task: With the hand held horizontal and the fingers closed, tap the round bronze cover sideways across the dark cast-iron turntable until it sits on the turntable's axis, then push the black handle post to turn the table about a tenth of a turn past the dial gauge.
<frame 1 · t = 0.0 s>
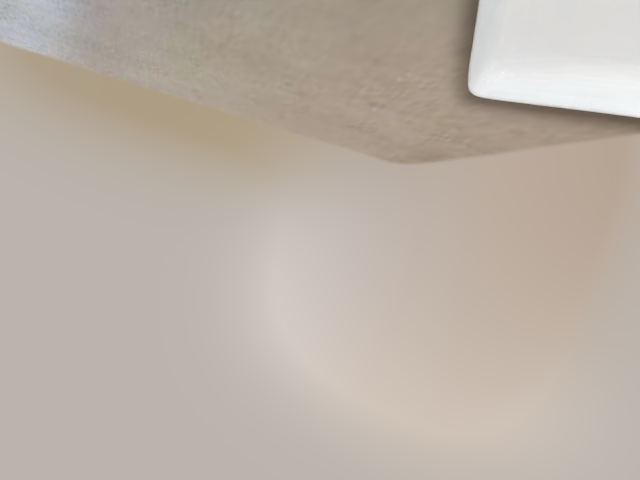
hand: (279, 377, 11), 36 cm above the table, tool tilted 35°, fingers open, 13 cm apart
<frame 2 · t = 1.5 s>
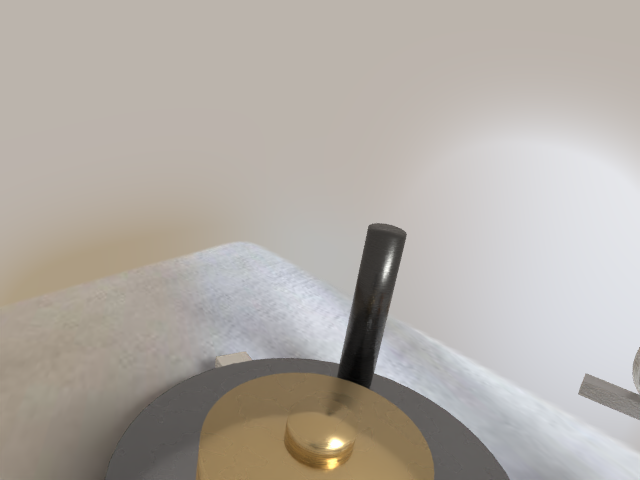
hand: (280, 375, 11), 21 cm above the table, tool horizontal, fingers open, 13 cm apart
turntable: (338, 400, 32), point 7 cm above the table, hinge at 0.0°, touching cover
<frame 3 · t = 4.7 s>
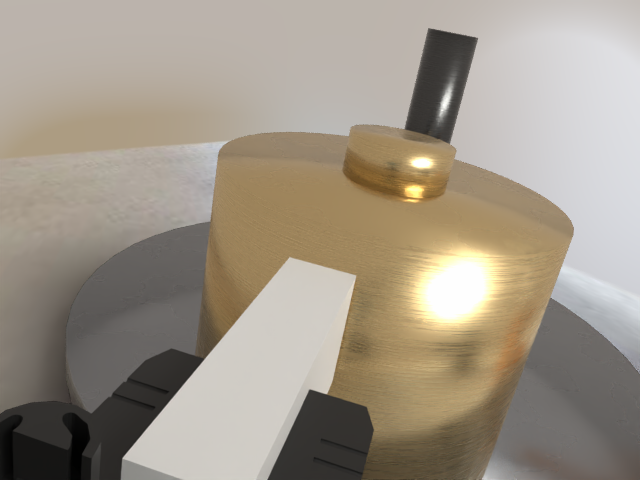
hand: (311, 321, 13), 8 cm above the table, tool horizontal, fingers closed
cover: (340, 404, 20), point 2 cm above the table, touching turntable
turntable: (398, 204, 23), point 7 cm above the table, hinge at 0.0°, touching cover
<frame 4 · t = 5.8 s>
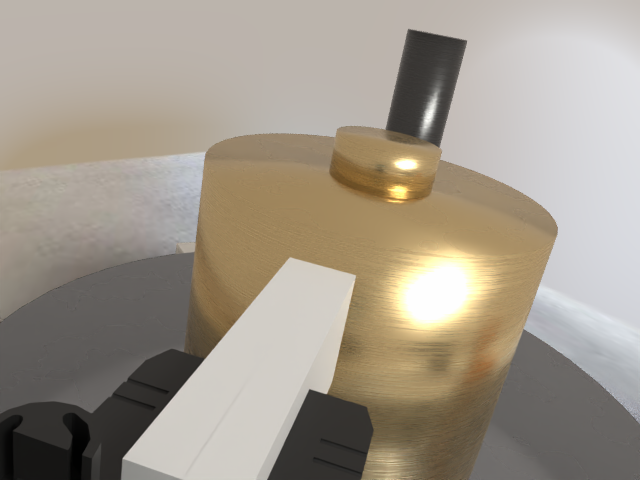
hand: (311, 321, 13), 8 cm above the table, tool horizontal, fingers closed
cover: (329, 404, 20), point 2 cm above the table, touching gripper, turntable
turntable: (362, 253, 18), point 7 cm above the table, hinge at 0.0°, touching cover
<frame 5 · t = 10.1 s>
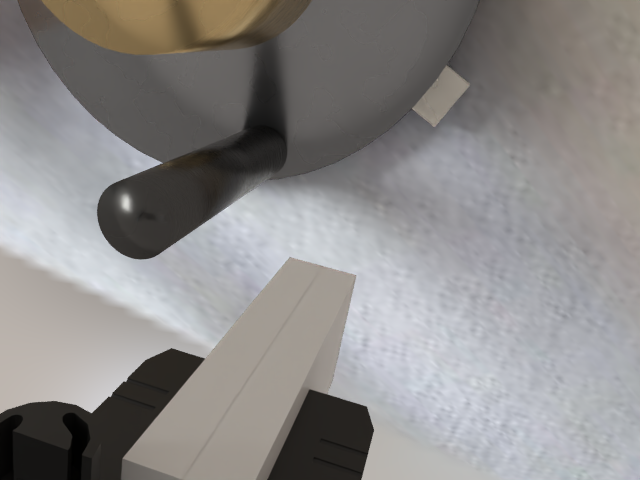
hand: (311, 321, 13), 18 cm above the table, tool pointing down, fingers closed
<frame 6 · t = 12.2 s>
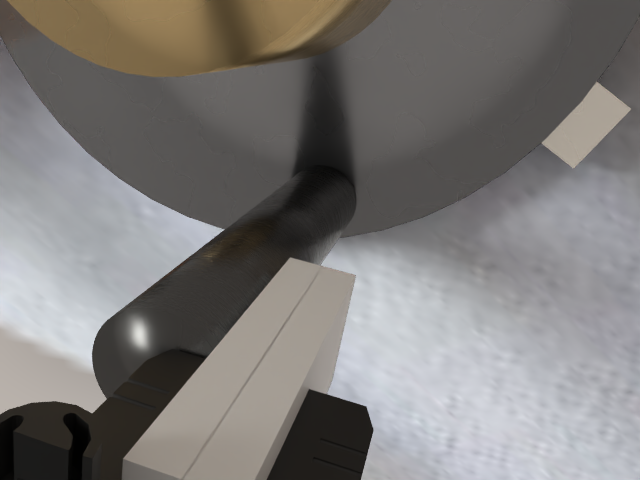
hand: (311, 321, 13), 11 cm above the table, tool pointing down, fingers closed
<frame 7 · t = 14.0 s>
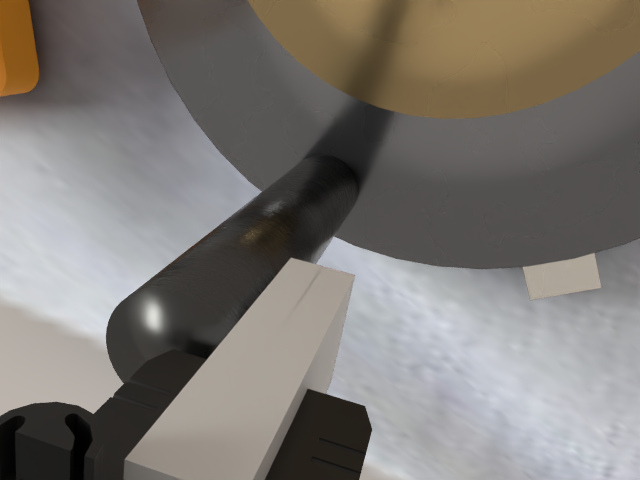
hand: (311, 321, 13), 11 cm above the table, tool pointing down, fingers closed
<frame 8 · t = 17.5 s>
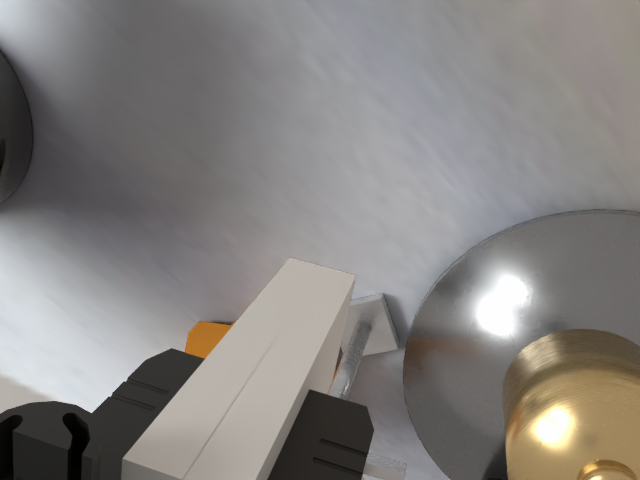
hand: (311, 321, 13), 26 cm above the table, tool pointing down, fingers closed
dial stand: (364, 323, 42), on the table
cover: (581, 397, 38), point 2 cm above the table, touching turntable
bracket: (271, 364, 46), on the table
turntable: (605, 446, 33), point 7 cm above the table, hinge at -36.9°, touching cover
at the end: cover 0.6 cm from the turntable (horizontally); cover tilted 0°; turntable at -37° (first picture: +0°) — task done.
